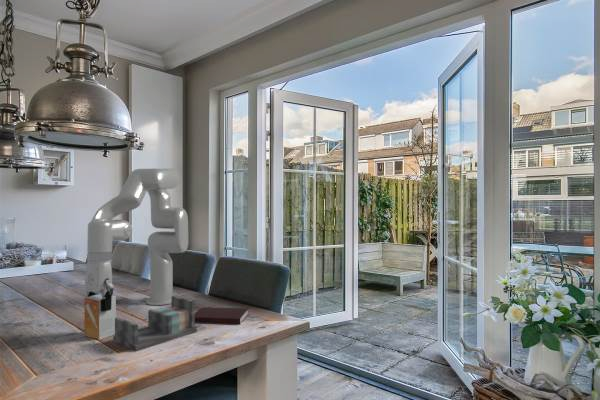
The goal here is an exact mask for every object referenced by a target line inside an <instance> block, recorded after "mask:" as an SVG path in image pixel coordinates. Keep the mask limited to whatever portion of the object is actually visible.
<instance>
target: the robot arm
mask: <svg viewBox="0 0 600 400" xmlns="http://www.w3.org/2000/svg"><path fill="white" fill-rule="evenodd" d="M179 184H180V174H179V173H178V171H177V170H176V169H174V168H137V169H134V170H132V171H131V172H130V173H129V175H128V177H127V179H126V181H125V183H124V184H123V186H122V188H121V189H120V191H119V194H117V195H116V196H115V197H113V198H111V199H110V200H109V201H107V202H105V203H104V204H103V205H102V206H100V207H99V208H98V209H97V210H96V212H95V213H94V215H93V217H92V218H91V221H90V222H88V223H87V245H86V246H87V249H86V250H87V251H86V253H87V254H86V256H87V258H86V259H87V260H86V261H87V264H86V269H85V281H84V283H85V284H84V288H85V290H86V295H87V296H86V297H89V296H93V295H98V294H101V296H102V299H101V311H102V312H103V311H108V310H111V301H112V296H113V294H114V288H115V286H114V285H113V267H112V262H113V241H115V242H119V241H121V242H122V241H126V240H128V239H129V238H130V237H131V235H132V233H133V226H132V224H131V223H130V222H129V221H127V220H125V219H115V217H117V216H120V215H122V214H125V213H128V212H131V211H132V210H135V209H137V208H139V207H140V206H141V204H142V202H143V200H144V198H145V197H146V196H145V195H146V194H148V196H149V199H150V200H149V201H150V221H151V222H150V223H151V225H152V227H153V228H155V229H164V230H165V231H161V230H160V231H155V232H152V233H150V235H148V238H147V247H148V251H149V263H150V264H149V266H150V267H149V272H150V273H149V277H150V278H149V281H150V282H149V285H150V286H149V287H150V288H149V291H148V292H147V296H149V298H148V299H146V304H147V305H149V306H163V305H169V304H172V296H174V294H173V293H174V291H173V288H174V286H173V283H174V281H173V279H174V278H173V276H174V275H173V273H174V272H173V269H174V266H173V265H174V264H173V263H174V262H173V260H172V257H171V256H170V254H182V253H185V252H187V250H188V247H189V216H188V213H187V210H186V209H184V208H183V207H174V206H173V207H172V203H171V202H172V201H171V200H172V199H171V195H170V192H169V191H168V190H170V189H175V188H176V187H178V185H179ZM166 229H170V230H171V229H172V230H174V231H166Z"/></svg>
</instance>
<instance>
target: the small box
mask: <svg viewBox="0 0 600 400" xmlns="http://www.w3.org/2000/svg"><path fill="white" fill-rule="evenodd" d="M97 294H98V295H93V296H89V297H87V296H85V297H84V316H83V317H84V321H83V322H84V325H83V326H84V331H83V332H84V334H83V335H84V336H85V337H88V338H92V339H96V340H98V341H100V340H103V339H105V338H109V337H111V336H112V337H113V336H115V318H117V305H116V303H117V298H116V296H114V295H112V301H111V310H108V311H103V312H102V311H101V299H102V296H101V293H97Z"/></svg>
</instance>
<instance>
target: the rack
mask: <svg viewBox="0 0 600 400" xmlns="http://www.w3.org/2000/svg"><path fill="white" fill-rule="evenodd" d="M195 303H196V302H195V300H192V299H189V298H186V297H185V298H184V297H181V296H177V295H173V296H172V303H171V306H169V307H167V308H165V307H160V308H156V309H148V317H147V318H148V319H147V320H148V322H147V323H148V326H145V327H142V328H139V324H137V323H135V322H132V321H129V320H126V319H124V318H121V317H116V318H115V335H112V337H113V339H112V341H113V342H115V343H116V344H120V345H121V346H123V347H126V348H128V349H130V350H132V351H135V352H138V351H141V350H144V349H147V348H150V347H154V346H156V345H160V344H163V343H166V342H169V341H171V340H174V339H178V338H181V337H184V336H188V335H190V334H193V333H196V332H197V326H195V325H196V323H195V312H196V309H195V307H196V306H195Z"/></svg>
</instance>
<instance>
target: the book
mask: <svg viewBox="0 0 600 400" xmlns="http://www.w3.org/2000/svg"><path fill="white" fill-rule="evenodd" d="M248 312H249V308H247V307H213V306H212V307H207V306H206V307H200V309H198V310H197V311H195V324H217V325H218V324H221V325H236V326H237V325H241V323H243V322H244V321H245V320H246V319H247V318H248V316H249V313H248Z"/></svg>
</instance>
